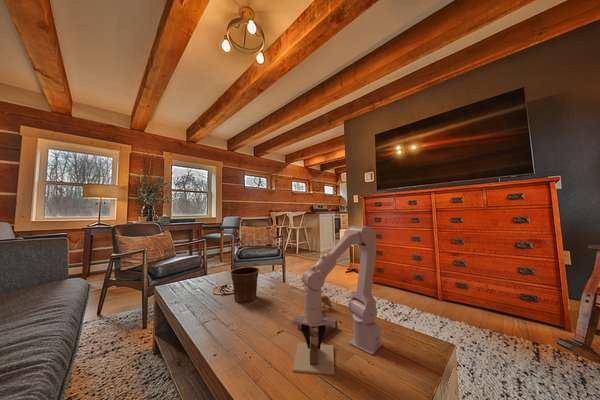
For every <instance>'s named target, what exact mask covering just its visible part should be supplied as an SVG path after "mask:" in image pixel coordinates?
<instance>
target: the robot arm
mask: <svg viewBox="0 0 600 400" xmlns="http://www.w3.org/2000/svg"><path fill="white" fill-rule="evenodd" d="M376 238H377V232H376V231H375V230H374V228H373V227H371V226H369V225H356V224H350V225H349V226H348V227H347V229H345V230H344V232H343V235H342V237H340V239H339V240H338V241H337V243H336V244H335V245H334V246H333V248H332V249H331V250H330V252H329V253H328V252H327V253H324V254H321V255H320V256H319V259H318V260H317V261H316V262H315V263H314V264H313V265H312V266H310V268H308V269H306V270H305V271H304V272H303V274H302V276H301V282H302V283H303V285H304V315H303V316H301V315H300V316H293V317H292V319H291V325H292V326H296V325H297V326H298V325H302V328H301V331H302V334H303V337H304V339H305V342H306V344H307V347H308V349H310V344H311V336H310V326H318V349H320V346H321V344H322V340H323V339H324V338H323V336H324V334H325V331H326V326H332V327H333V328H335V320H336V319H335V318H330V317H328V318H326V317H327V316H326V317H322V315H323V311H322V310H323V309H322V306H323V305H322V303H323V302H321V296H322V288H323V287H324V285H325V283H326V282H325V280H326V278H327V276H328V275H329V274H330V273H331V272H332V271H333V270H334V269H335V267H336V266H337V260H338V259H339V258H340V257H341V256H342V255H343V254H344V253H345V252H346V251H347V250H348V249H349V248H350V247H351V246H356V245H357V247H358V248H359V249H360V252H361V253H360V260H359V267H358V275H357V284H356V291H354V292H353V293H351V297H350V300H349V302H348V310H349V312H350V313H351V316H352V327H353V329H352V330H353V331H352V333H353V335H352V339H351V340H350V341H348V344H349V345H351V346H353V347H355V348H357V349H360V350H361V351H364V352H365V353H367V354H370V355H374V354H375V353H376V352H377V351H378V349H379V348H381V347H382V345H383V343H382V334H381V333H382V332H381V325H380V324H378V323H377V322H375V321H376V320H377V316H378V310H377V301H376V300H375V298H374V296H373V294H372V292H373V291H372V290H373V283H374V274H375V266H376V255H377V254H376V253H377V243H376ZM301 331H300V332H301ZM322 338H323V339H322Z"/></svg>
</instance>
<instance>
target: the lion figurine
mask: <svg viewBox="0 0 600 400" xmlns="http://www.w3.org/2000/svg"><path fill="white" fill-rule="evenodd" d="M321 302H322V303H323V305H322V308H323V309H324V308H325V307H326V306H328V311H331V310H332V307H333V305H332V304H331V300H330V298H329V296H327V295H325V294H323V295H321Z"/></svg>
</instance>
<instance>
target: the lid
mask: <svg viewBox="0 0 600 400" xmlns="http://www.w3.org/2000/svg"><path fill="white" fill-rule="evenodd" d="M296 346H297V347H296V351H295V357H294V361H293V366H292V372H293V373H302V374H303V373H306V374H319V375H328V376H330V375H331V376H332V375H333V376H336V375H335V357H334V355H335V354H334V345H333V344H322V343H321V346H320V349H318V337H311V336H310V349H308V347H307V342H306V343H305V342H304V343H303V342H298V343H297V345H296Z"/></svg>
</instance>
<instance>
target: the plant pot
mask: <svg viewBox="0 0 600 400" xmlns="http://www.w3.org/2000/svg"><path fill="white" fill-rule="evenodd" d="M259 272H260V269H259V268H258V267H254V266H245V267H238V268H235V269H232V270H231V271H230V276H231V281H232V289H233V298H234V301H235V302H236V303H239V304H245V303H250V302H253V301H254V300H255V299H256V298H257V291H258V290H257V288H258V277H259Z"/></svg>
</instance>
